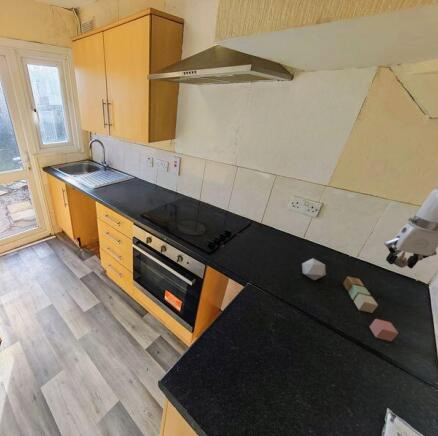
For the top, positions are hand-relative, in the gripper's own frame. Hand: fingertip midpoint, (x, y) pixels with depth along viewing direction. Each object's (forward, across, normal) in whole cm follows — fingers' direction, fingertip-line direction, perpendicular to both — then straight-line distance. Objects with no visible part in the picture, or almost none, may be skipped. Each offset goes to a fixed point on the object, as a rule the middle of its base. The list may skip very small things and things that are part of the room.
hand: (398, 263), depth 88 cm
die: (+18, -23, +4) cm, 29 cm away
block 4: (+17, -8, -22) cm, 29 cm away
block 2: (+17, -8, -4) cm, 20 cm away
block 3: (+17, -8, -10) cm, 21 cm away
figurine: (+1, 0, 0) cm, 1 cm away
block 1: (+17, -8, +1) cm, 19 cm away
